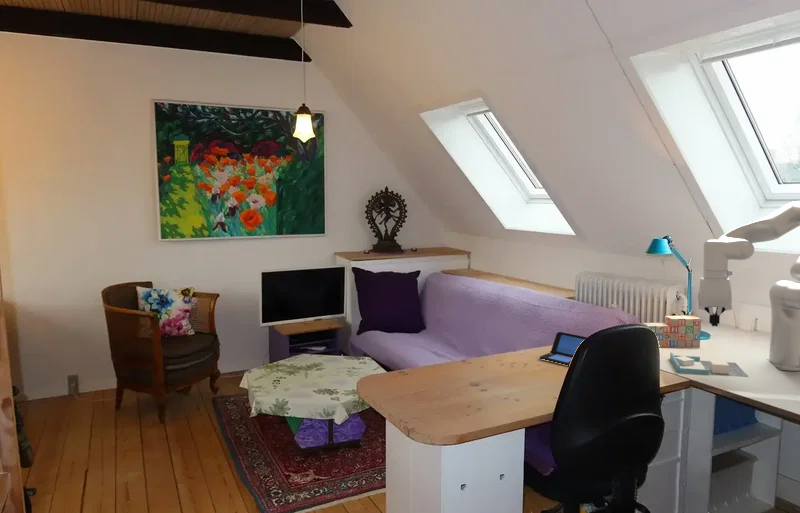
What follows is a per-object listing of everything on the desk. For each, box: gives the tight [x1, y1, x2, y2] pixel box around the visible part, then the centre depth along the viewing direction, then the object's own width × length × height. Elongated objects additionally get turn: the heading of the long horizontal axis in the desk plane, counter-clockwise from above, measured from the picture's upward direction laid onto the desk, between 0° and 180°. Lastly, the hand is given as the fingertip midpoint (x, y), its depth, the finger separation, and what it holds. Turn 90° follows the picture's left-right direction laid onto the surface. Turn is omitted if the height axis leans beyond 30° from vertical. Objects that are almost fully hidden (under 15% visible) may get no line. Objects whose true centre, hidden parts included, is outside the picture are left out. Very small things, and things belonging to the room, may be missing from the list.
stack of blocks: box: [642, 315, 702, 349], centre depth 244 cm, size 21×6×12 cm, turn 88°
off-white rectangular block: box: [709, 360, 729, 374], centre depth 205 cm, size 5×4×3 cm
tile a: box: [675, 355, 695, 367], centre depth 215 cm, size 5×4×3 cm
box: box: [669, 352, 710, 376], centre depth 211 cm, size 10×17×4 cm, turn 163°
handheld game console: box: [539, 331, 587, 367], centre depth 226 cm, size 16×13×9 cm
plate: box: [699, 360, 749, 378], centre depth 208 cm, size 12×17×2 cm
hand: (714, 325), depth 209 cm, fingers closed
